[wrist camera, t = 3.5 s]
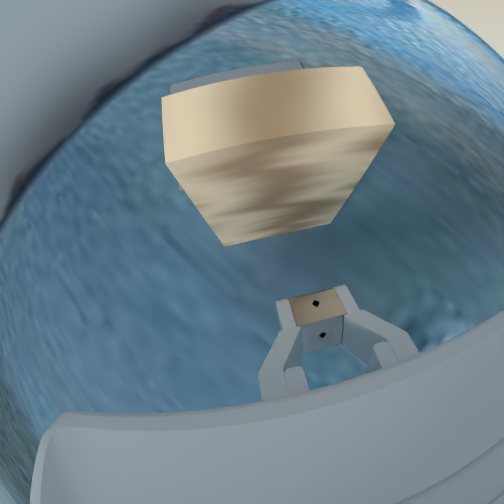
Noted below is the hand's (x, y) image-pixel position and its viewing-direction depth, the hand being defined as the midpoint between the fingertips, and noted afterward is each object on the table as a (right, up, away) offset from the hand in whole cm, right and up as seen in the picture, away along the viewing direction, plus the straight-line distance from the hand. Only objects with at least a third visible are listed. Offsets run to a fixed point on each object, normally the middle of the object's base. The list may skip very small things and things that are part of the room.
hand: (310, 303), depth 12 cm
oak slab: (-1, +5, +12) cm, 13 cm away
